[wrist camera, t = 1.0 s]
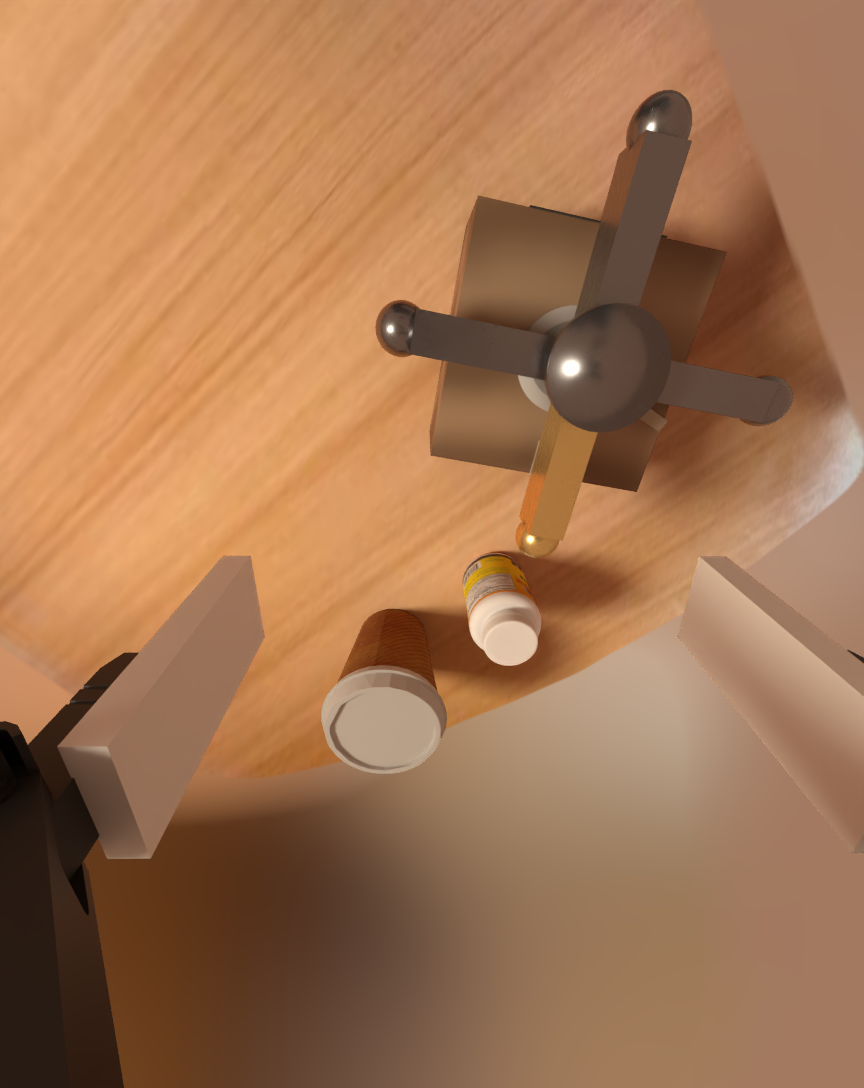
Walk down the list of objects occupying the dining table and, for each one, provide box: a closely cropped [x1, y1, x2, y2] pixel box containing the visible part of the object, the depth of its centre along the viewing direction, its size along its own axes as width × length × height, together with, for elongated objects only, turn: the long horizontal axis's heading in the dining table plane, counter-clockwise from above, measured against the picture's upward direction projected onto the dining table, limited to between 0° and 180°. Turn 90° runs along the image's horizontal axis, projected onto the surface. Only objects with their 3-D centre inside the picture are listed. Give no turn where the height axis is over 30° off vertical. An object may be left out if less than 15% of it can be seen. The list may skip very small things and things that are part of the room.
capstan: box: [376, 90, 793, 558], centre depth 25 cm, size 22×22×7 cm
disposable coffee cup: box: [321, 609, 447, 774], centre depth 40 cm, size 10×10×12 cm
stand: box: [430, 196, 727, 492], centre depth 32 cm, size 16×14×8 cm
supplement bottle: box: [463, 553, 542, 666], centre depth 39 cm, size 6×6×10 cm
